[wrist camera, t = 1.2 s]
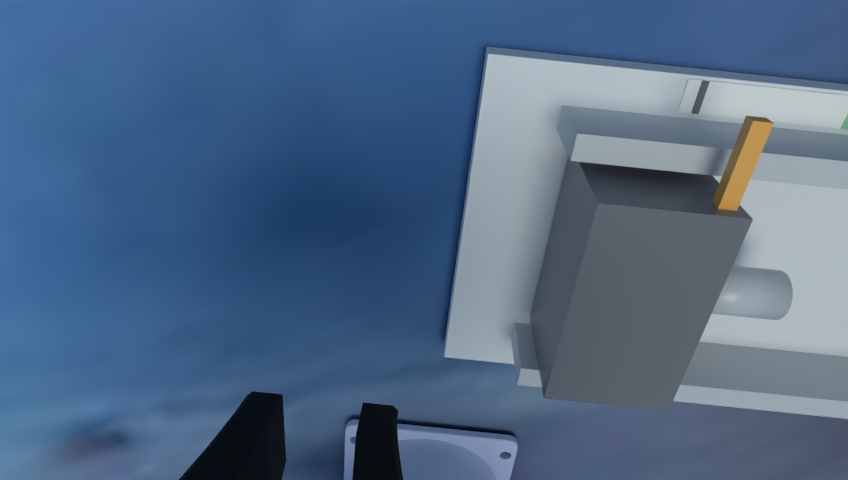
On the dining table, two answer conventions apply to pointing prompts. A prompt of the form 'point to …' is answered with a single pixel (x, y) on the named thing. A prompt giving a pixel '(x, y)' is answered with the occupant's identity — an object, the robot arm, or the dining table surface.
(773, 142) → the gauge frame
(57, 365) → the dining table surface
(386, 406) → the robot arm
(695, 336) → the block with orange peg
